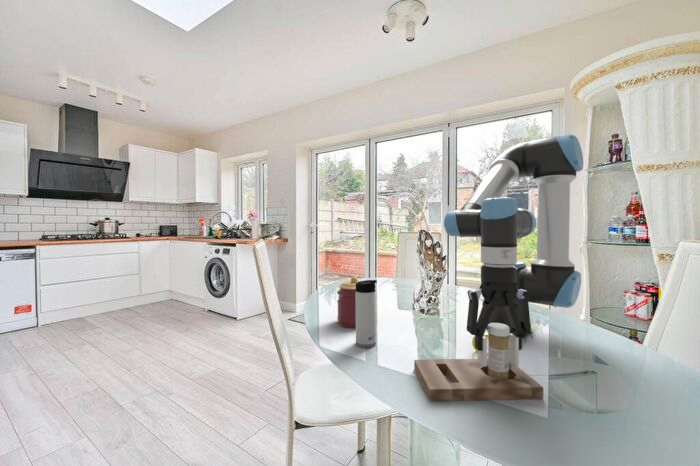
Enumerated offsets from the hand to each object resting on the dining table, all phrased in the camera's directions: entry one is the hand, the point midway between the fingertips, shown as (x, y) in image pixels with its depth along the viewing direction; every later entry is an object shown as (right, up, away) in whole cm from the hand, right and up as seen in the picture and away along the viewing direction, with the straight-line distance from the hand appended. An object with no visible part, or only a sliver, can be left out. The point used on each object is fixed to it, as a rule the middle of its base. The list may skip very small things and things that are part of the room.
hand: (498, 363), depth 71 cm
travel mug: (-29, -4, +24) cm, 38 cm away
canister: (-33, -4, +44) cm, 55 cm away
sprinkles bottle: (0, -5, 0) cm, 5 cm away
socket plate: (-6, -4, 0) cm, 7 cm away
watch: (+4, -4, +16) cm, 17 cm away
